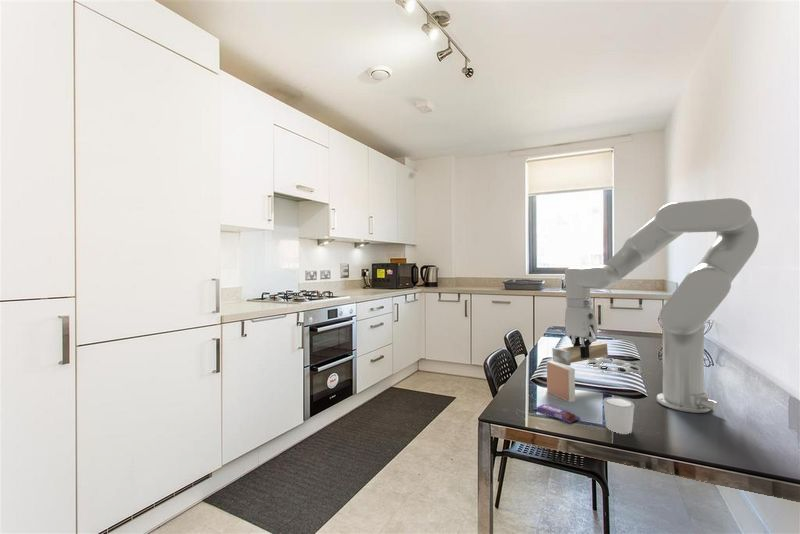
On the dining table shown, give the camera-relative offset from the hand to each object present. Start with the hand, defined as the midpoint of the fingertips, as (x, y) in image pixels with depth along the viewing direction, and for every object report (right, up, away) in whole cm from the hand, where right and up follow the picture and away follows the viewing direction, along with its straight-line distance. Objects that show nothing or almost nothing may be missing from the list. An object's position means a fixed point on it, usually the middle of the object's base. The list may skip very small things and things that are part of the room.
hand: (581, 356), depth 124 cm
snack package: (-18, -12, -22) cm, 31 cm away
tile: (-11, -10, -9) cm, 18 cm away
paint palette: (+22, -10, +19) cm, 31 cm away
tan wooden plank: (+1, -1, 0) cm, 1 cm away
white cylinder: (-6, -11, -31) cm, 34 cm away
